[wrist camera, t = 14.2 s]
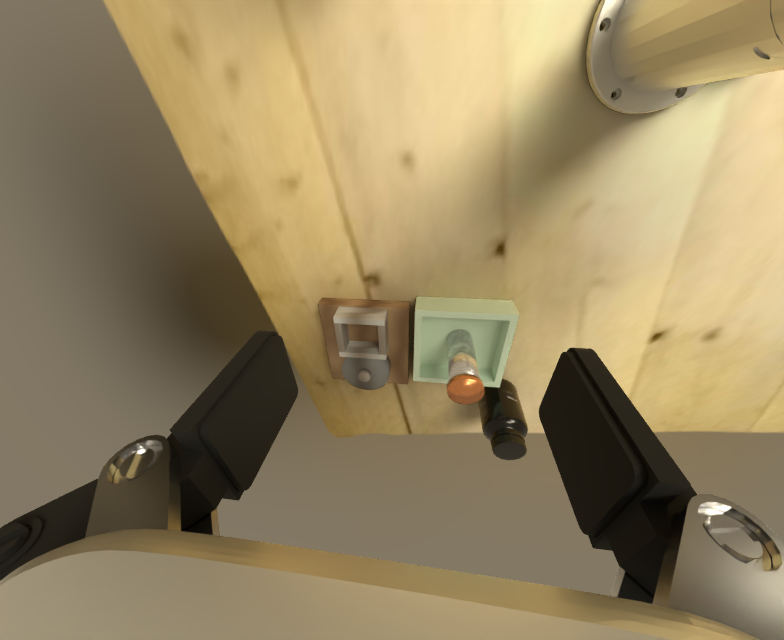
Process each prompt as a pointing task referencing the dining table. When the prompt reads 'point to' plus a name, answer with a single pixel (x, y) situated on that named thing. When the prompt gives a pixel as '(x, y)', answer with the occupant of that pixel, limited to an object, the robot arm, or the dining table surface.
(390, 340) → the wooden stand
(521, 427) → the supplement bottle
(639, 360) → the dining table surface
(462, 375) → the jar with copper lid
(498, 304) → the tray
